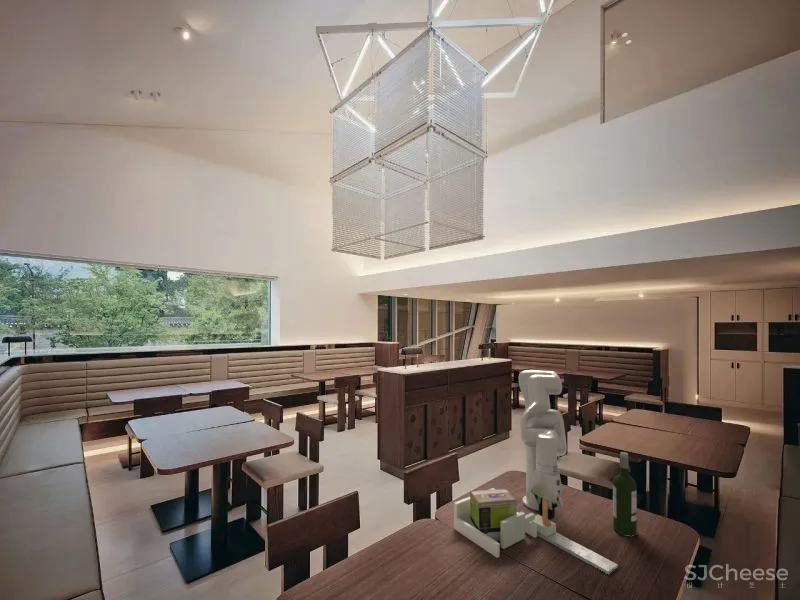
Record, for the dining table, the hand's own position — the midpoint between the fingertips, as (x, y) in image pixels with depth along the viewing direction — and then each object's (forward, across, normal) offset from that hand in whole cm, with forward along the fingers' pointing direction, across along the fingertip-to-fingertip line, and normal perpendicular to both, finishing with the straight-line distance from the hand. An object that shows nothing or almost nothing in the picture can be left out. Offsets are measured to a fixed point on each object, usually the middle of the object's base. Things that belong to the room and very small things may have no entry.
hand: (546, 516), depth 145 cm
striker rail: (+7, -4, 0) cm, 8 cm away
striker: (+7, +2, +9) cm, 11 cm away
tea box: (+8, +12, +16) cm, 22 cm away
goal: (+7, +12, +15) cm, 20 cm away
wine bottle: (+7, -16, -28) cm, 33 cm away
